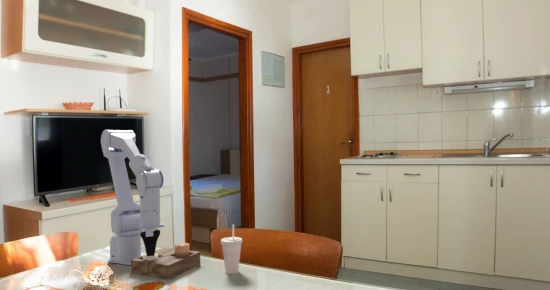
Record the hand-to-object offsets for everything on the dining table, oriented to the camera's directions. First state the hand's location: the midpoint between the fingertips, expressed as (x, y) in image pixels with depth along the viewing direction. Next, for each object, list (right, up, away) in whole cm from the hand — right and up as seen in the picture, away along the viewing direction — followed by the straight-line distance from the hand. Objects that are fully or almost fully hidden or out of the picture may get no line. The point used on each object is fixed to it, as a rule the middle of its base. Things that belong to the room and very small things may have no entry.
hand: (150, 255), depth 117 cm
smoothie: (+25, -4, -2) cm, 25 cm away
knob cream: (0, -3, 0) cm, 3 cm away
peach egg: (+9, -1, +3) cm, 9 cm away
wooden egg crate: (+4, -5, +1) cm, 6 cm away
